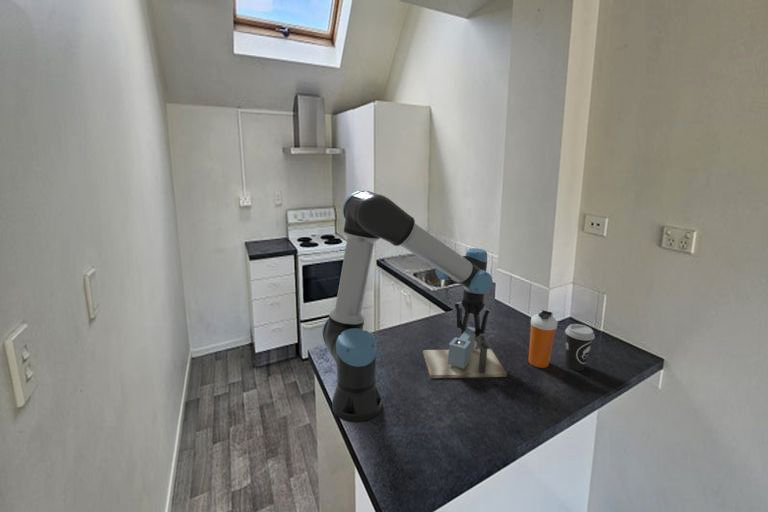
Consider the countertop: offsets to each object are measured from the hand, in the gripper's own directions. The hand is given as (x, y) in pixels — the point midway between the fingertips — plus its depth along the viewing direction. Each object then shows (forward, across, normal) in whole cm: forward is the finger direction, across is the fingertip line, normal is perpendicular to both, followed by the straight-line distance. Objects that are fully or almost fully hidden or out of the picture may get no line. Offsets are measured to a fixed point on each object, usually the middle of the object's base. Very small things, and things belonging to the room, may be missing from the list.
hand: (469, 346), depth 145 cm
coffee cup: (+3, +36, +12) cm, 38 cm away
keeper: (+3, +7, -10) cm, 12 cm away
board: (+3, 0, -9) cm, 9 cm away
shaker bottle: (+3, +24, +7) cm, 26 cm away
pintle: (+3, 0, -12) cm, 12 cm away
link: (+1, 0, -6) cm, 7 cm away
